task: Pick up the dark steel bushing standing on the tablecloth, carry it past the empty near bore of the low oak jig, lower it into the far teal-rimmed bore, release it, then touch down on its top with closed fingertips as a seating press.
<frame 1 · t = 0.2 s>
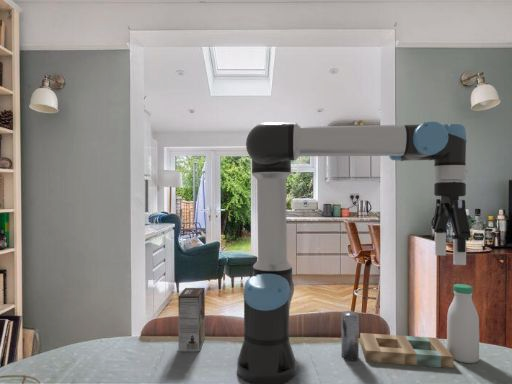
hand: (449, 259, 96), 28 cm above the table, fingers open, 13 cm apart
coffee box: (192, 345, 105), on the table
bushing: (349, 356, 98), on the table
milk bottle: (462, 358, 98), on the table
jig: (403, 354, 99), on the table
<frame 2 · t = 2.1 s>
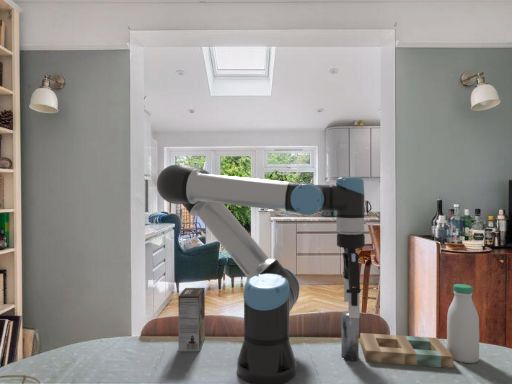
hand: (351, 309, 98), 13 cm above the table, fingers open, 13 cm apart
nothing on the table moved.
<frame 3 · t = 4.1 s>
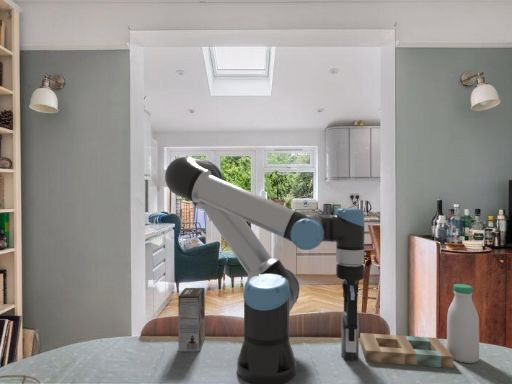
hand: (349, 347, 98), 3 cm above the table, fingers closed on bushing, 5 cm apart
bushing: (349, 356, 98), on the table, touching gripper
everything else where it was.
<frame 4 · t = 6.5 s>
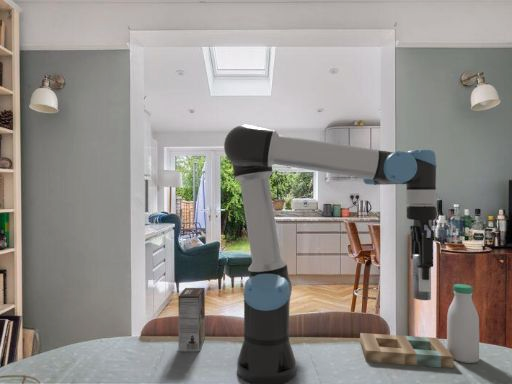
hand: (421, 288, 98), 19 cm above the table, fingers closed on bushing, 5 cm apart
bushing: (421, 297, 98), point 16 cm above the table, touching gripper
everything else where it was.
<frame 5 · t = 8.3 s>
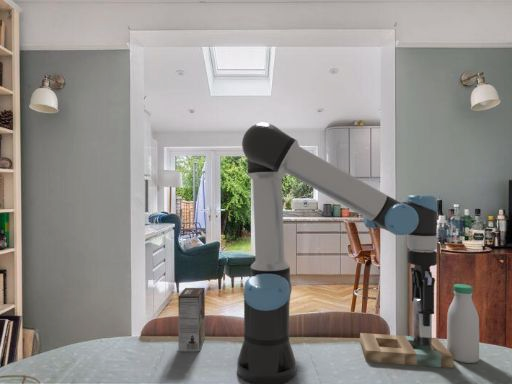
hand: (422, 332, 98), 6 cm above the table, fingers closed on bushing, 5 cm apart
bushing: (422, 342, 98), point 4 cm above the table, touching gripper
everything else where it was.
when the fingers open (5 cm above the table, at t = 9.3 s): bushing drops 2 cm, resting in jig.
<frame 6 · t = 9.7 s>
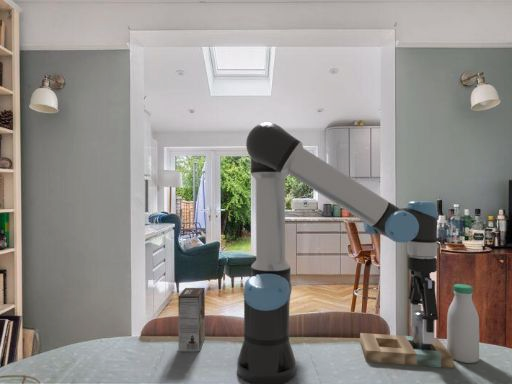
hand: (421, 334, 98), 6 cm above the table, fingers open, 11 cm apart
bushing: (421, 355, 98), resting in jig
everything else where it was.
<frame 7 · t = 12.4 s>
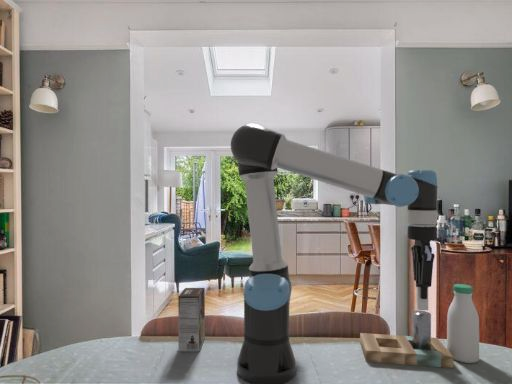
hand: (422, 309, 98), 13 cm above the table, fingers closed
nothing on the table moved.
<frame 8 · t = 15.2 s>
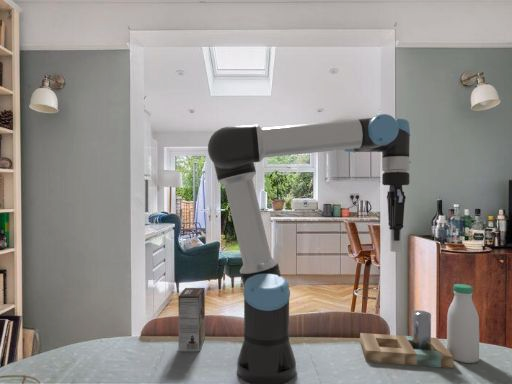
hand: (395, 251, 104), 28 cm above the table, fingers closed
nothing on the table moved.
at the end: bushing 0.0 cm from the target spot on the jig, point 0.0 cm above the jig's base; bushing tilted 0°; the gripper is holding nothing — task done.
